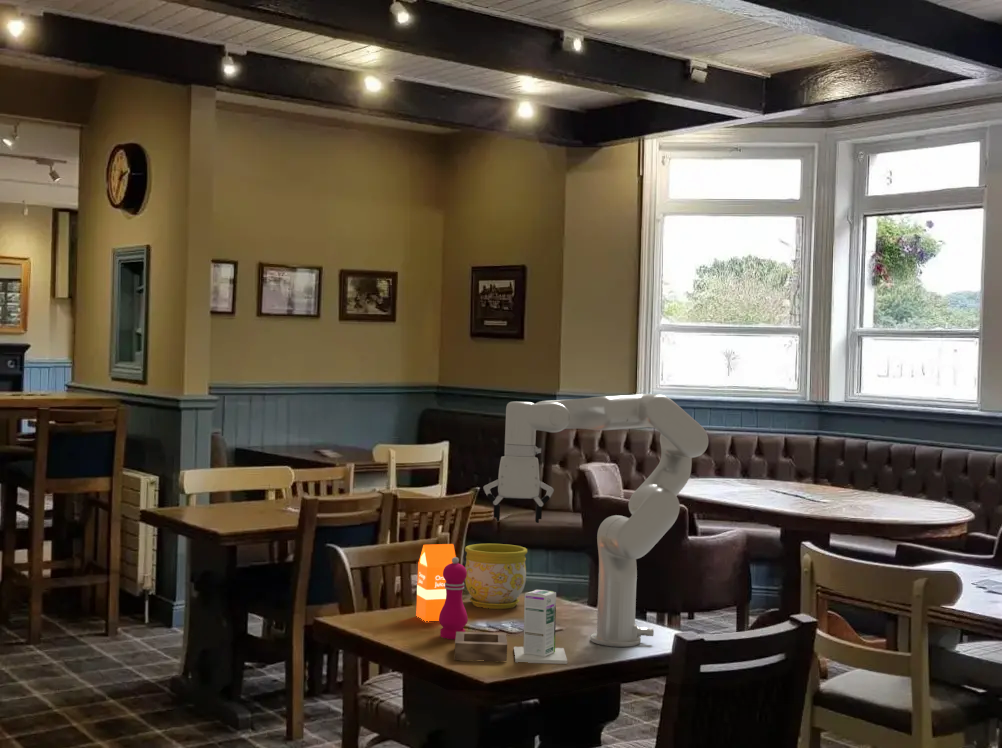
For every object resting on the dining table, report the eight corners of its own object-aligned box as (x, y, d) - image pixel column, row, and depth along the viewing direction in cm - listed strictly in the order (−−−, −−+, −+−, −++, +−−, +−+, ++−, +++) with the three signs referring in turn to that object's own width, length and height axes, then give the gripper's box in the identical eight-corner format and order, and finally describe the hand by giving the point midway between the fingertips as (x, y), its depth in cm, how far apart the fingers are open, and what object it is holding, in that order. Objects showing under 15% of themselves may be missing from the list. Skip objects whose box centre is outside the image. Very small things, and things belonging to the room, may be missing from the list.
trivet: (563, 651, 271) (563, 648, 271) (567, 664, 259) (567, 660, 259) (513, 649, 271) (513, 646, 271) (515, 662, 259) (515, 658, 259)
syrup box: (544, 657, 261) (547, 595, 261) (522, 653, 264) (524, 592, 264) (555, 652, 266) (557, 591, 266) (533, 649, 269) (535, 588, 269)
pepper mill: (463, 641, 278) (466, 560, 278) (435, 638, 280) (437, 558, 280) (469, 634, 285) (472, 555, 286) (442, 632, 287) (445, 554, 287)
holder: (505, 649, 271) (506, 633, 271) (506, 662, 259) (507, 644, 259) (455, 648, 271) (456, 631, 271) (454, 660, 259) (455, 643, 259)
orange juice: (415, 616, 305) (418, 542, 306) (446, 614, 309) (448, 541, 309) (425, 622, 298) (427, 546, 298) (456, 620, 302) (459, 546, 302)
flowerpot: (506, 614, 313) (508, 554, 313) (451, 605, 321) (453, 548, 321) (536, 603, 328) (538, 547, 328) (482, 596, 337) (484, 541, 337)
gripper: (554, 452, 280) (551, 520, 280) (484, 449, 280) (482, 518, 280) (556, 454, 273) (553, 524, 272) (484, 451, 272) (482, 522, 272)
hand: (517, 521), depth 276 cm, fingers open, 9 cm apart
